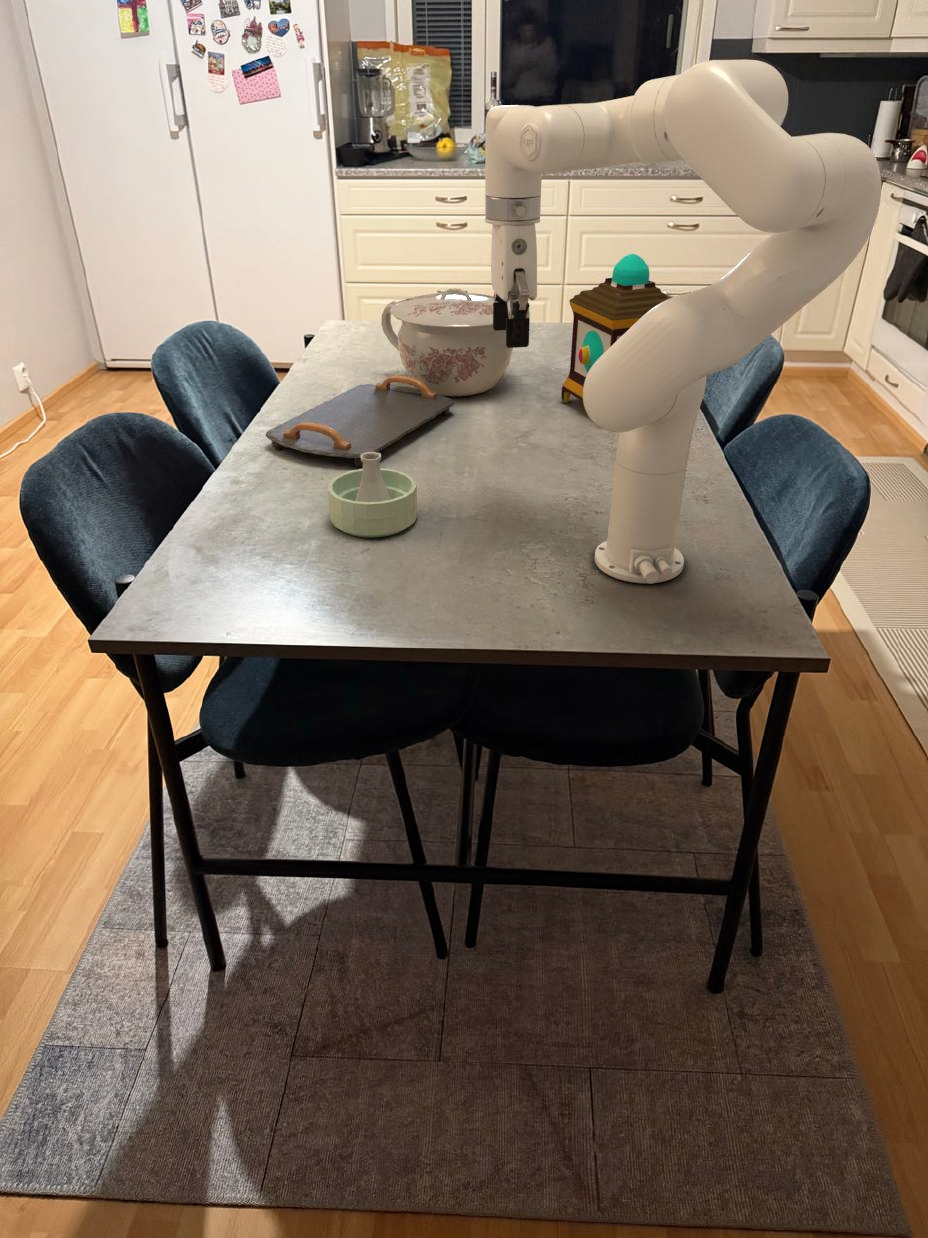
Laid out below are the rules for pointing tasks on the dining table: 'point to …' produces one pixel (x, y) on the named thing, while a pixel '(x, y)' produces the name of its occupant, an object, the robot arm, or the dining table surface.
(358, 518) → the basin
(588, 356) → the decorative lantern
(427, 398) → the serving tray
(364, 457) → the flask
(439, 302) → the chamber pot
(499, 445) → the dining table surface
